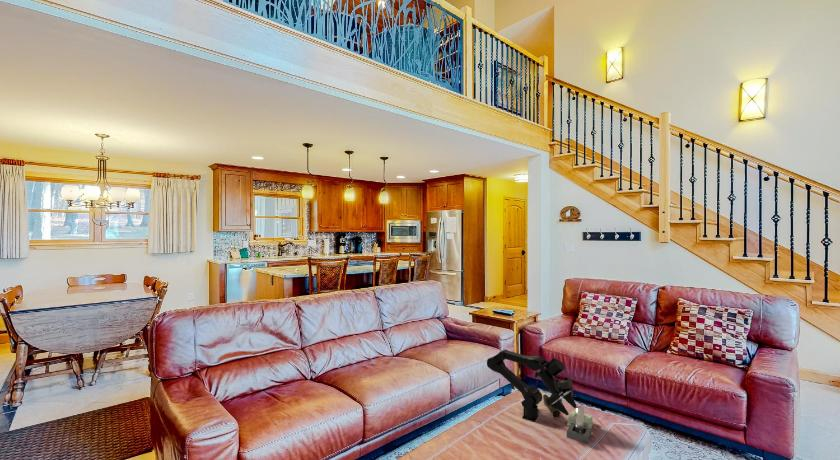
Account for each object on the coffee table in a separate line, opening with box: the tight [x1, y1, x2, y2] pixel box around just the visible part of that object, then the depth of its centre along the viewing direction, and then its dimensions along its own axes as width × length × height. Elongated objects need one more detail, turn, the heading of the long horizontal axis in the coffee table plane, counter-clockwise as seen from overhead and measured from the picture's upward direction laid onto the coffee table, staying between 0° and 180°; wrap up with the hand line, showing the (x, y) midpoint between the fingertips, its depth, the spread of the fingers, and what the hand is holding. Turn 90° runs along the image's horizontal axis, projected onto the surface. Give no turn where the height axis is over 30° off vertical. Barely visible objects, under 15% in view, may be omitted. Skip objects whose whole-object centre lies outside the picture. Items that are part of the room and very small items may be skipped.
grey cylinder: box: [574, 405, 585, 434], centre depth 176 cm, size 4×4×13 cm
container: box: [566, 410, 594, 428], centre depth 186 cm, size 10×10×4 cm
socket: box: [566, 423, 593, 445], centre depth 176 cm, size 9×9×3 cm
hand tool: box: [542, 393, 562, 418], centre depth 202 cm, size 19×4×5 cm, turn 179°
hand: (572, 411), depth 178 cm, fingers open, 9 cm apart
